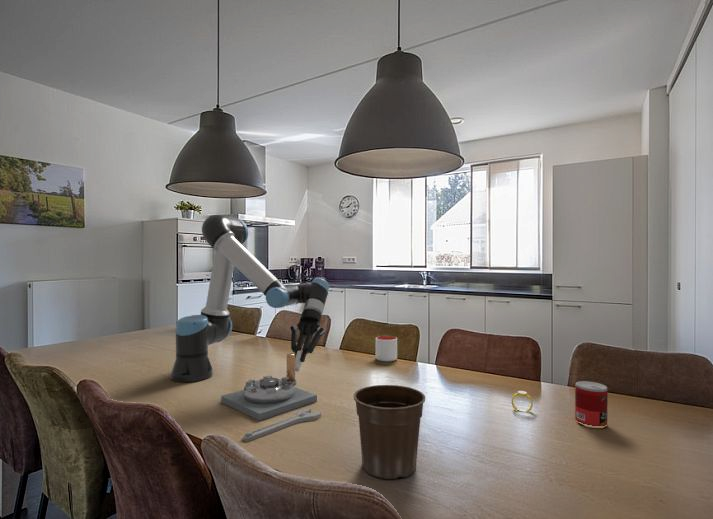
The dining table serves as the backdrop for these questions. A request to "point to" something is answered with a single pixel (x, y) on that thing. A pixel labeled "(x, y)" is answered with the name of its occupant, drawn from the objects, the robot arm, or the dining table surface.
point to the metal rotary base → (272, 386)
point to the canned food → (591, 403)
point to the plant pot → (389, 429)
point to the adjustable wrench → (283, 424)
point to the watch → (522, 395)
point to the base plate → (268, 410)
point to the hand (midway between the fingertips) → (295, 369)
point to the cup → (386, 348)
